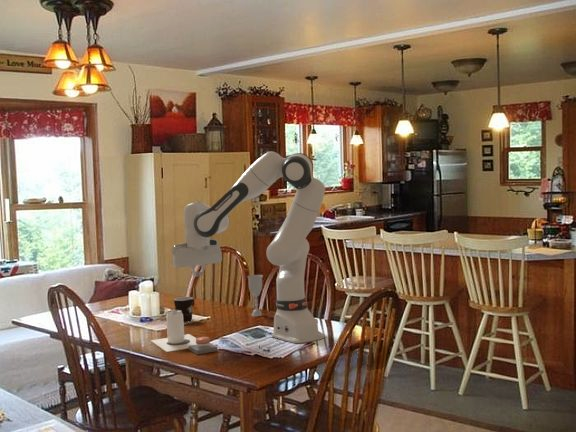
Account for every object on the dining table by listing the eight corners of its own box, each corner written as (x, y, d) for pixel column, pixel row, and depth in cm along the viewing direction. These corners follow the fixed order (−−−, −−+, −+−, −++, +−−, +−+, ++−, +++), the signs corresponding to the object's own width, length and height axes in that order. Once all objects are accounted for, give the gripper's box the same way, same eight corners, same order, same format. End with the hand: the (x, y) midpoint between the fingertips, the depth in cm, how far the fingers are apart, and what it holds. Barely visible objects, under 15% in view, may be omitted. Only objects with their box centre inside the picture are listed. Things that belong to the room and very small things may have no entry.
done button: (211, 342, 233) (211, 338, 233) (198, 345, 231) (198, 341, 231) (206, 340, 238) (206, 336, 238) (194, 342, 235) (193, 338, 235)
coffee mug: (181, 323, 279) (179, 301, 278) (171, 320, 286) (170, 299, 285) (203, 319, 286) (202, 297, 286) (194, 316, 293) (192, 295, 292)
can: (181, 344, 243) (179, 313, 242) (165, 344, 244) (163, 313, 243) (187, 339, 249) (185, 309, 248) (171, 339, 250) (169, 309, 250)
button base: (217, 350, 233) (217, 346, 233) (196, 354, 229) (196, 350, 229) (209, 346, 240) (209, 342, 240) (189, 349, 236) (189, 345, 236)
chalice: (261, 312, 294) (259, 274, 293) (267, 315, 288) (265, 276, 287) (246, 314, 291) (244, 276, 290) (252, 317, 285) (250, 277, 284)
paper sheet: (207, 345, 242) (207, 343, 242) (166, 352, 234) (166, 351, 234) (188, 334, 259) (188, 333, 259) (150, 341, 251) (150, 340, 251)
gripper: (174, 245, 247) (176, 280, 248) (222, 240, 257) (224, 274, 258) (169, 244, 253) (171, 278, 254) (216, 239, 263) (218, 272, 264)
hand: (198, 276), depth 256 cm, fingers closed
